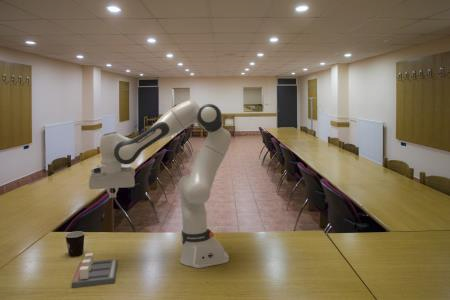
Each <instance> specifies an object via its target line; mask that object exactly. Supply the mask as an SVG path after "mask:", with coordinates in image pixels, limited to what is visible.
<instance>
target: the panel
mask: <svg viewBox="0 0 450 300" xmlns="http://www.w3.org/2000/svg"><path fill="white" fill-rule="evenodd" d="M82 262H83V261H80V262H79V264H78V267H77V269H76V270H75V273H74V276H73V279H72V281H71V288H72V289H75V288H81V287H91V286H101V285H108V284H109V285H110V284H115V282H116V281H115V280H116V275H117V268H118V258H110V259H109V258H108V259H101V260H100V259H99V260H94V262H93V264H91V271H89V278H88V279H80V268H81V267H83V266H82Z"/></svg>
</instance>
